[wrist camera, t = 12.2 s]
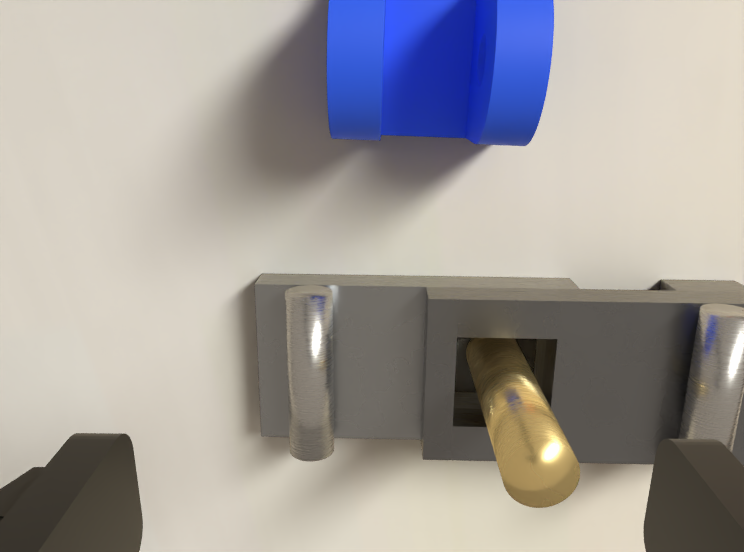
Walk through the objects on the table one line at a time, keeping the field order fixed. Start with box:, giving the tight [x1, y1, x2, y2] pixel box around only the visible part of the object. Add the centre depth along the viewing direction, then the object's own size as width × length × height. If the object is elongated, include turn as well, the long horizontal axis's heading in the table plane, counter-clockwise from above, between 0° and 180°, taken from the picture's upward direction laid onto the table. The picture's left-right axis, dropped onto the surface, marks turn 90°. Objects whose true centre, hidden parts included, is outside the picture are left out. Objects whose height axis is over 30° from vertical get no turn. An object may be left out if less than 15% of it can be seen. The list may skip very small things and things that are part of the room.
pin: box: [466, 338, 580, 508], centre depth 31 cm, size 3×3×12 cm
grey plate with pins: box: [255, 274, 744, 466], centre depth 33 cm, size 9×26×6 cm, turn 89°
